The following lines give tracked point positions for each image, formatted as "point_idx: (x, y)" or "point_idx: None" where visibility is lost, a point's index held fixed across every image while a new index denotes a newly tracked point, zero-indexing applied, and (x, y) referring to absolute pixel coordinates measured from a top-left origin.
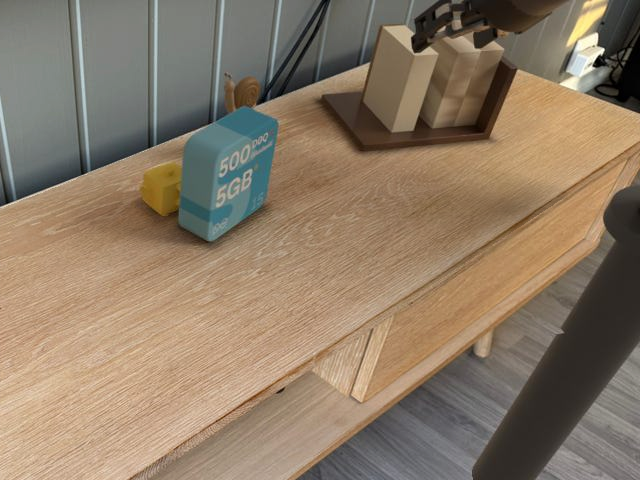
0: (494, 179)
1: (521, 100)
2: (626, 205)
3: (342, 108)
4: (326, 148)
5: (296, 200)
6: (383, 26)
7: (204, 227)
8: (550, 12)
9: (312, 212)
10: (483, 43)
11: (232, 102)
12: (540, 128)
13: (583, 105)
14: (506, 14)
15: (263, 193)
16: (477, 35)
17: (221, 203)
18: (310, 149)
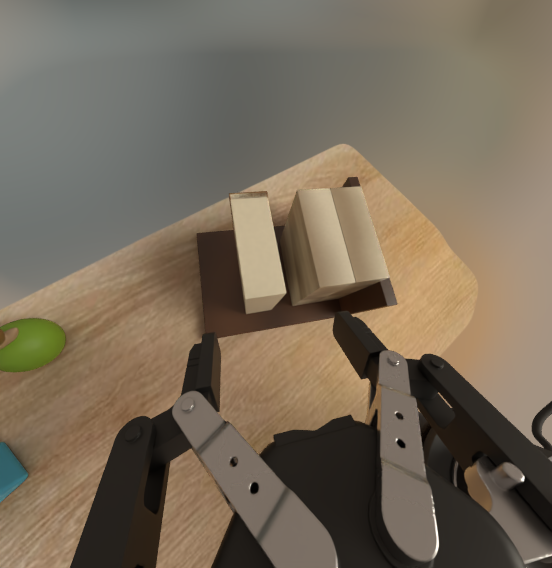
0: (330, 393)
1: (396, 245)
2: (442, 457)
3: (209, 262)
4: (169, 333)
5: (86, 452)
6: (231, 199)
7: None
8: None
9: (96, 480)
10: (344, 352)
11: None
12: (400, 295)
13: (447, 256)
14: None
15: (4, 493)
16: (340, 325)
17: None
18: (149, 335)
